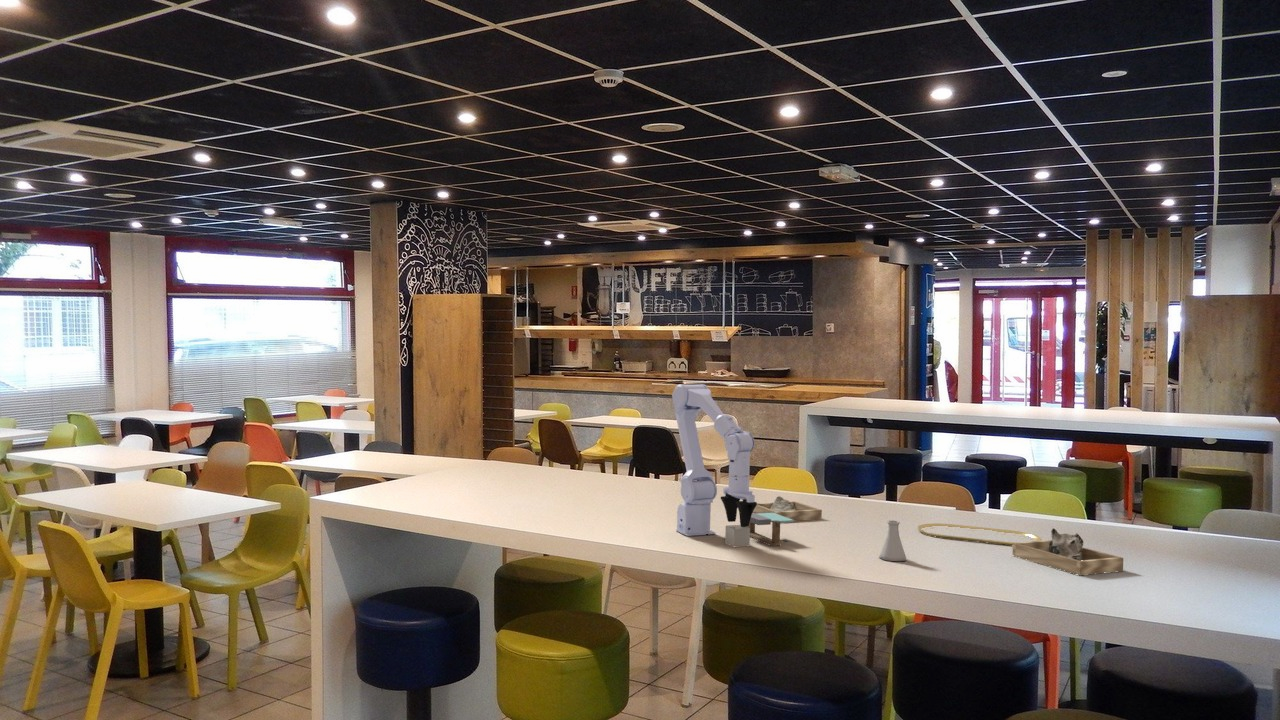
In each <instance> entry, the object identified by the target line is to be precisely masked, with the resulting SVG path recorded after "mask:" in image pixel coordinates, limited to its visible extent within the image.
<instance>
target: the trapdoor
mask: <svg viewBox="0 0 1280 720" xmlns="http://www.w3.org/2000/svg"><path fill="white" fill-rule="evenodd" d="M773 520H778V521H780V524H782V523H794V522H795V521H794V520H792V519H789V518H787V517H784V516H781V515H778V514H775V513H758V514H756V513H752V516H751V519H750V522H751V523H754V524H755V526H756V525H757V526H765V525H766V526H767V525H772V521H773Z"/></svg>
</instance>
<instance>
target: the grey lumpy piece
mask: <svg viewBox="0 0 1280 720" xmlns="http://www.w3.org/2000/svg"><path fill="white" fill-rule="evenodd" d="M1050 534H1051V535H1050V536H1051V540H1053V541H1050V543H1049V552H1050V553H1054V554H1057V555H1061V556H1065V557H1068V558H1072V559H1075V560H1079V561H1081V555H1082V547H1083V546H1084V540H1083V538H1082V537H1081V535H1079V533H1077V532H1076V533H1075V534H1070V533H1069V534H1068V533H1059V532H1058V531H1057V530H1056V529H1055V528H1051V531H1050ZM1079 552H1080V553H1079ZM1078 553H1079V554H1078Z"/></svg>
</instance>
